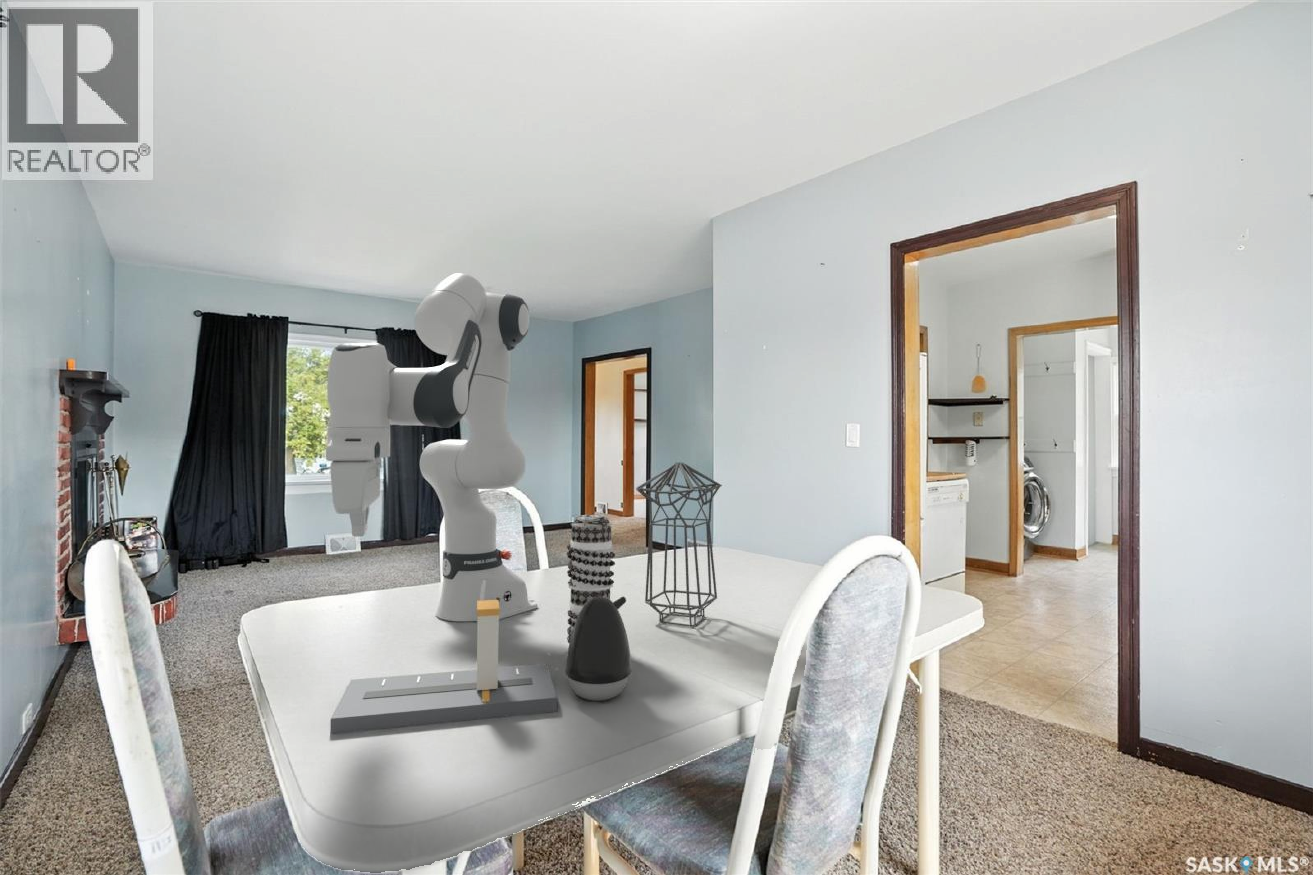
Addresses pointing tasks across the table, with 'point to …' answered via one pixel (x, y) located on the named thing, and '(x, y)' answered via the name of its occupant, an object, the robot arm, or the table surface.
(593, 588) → the decorative candle
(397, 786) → the table surface
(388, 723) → the console board
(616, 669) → the pump dispenser
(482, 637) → the fader tab
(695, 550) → the geometric lantern
